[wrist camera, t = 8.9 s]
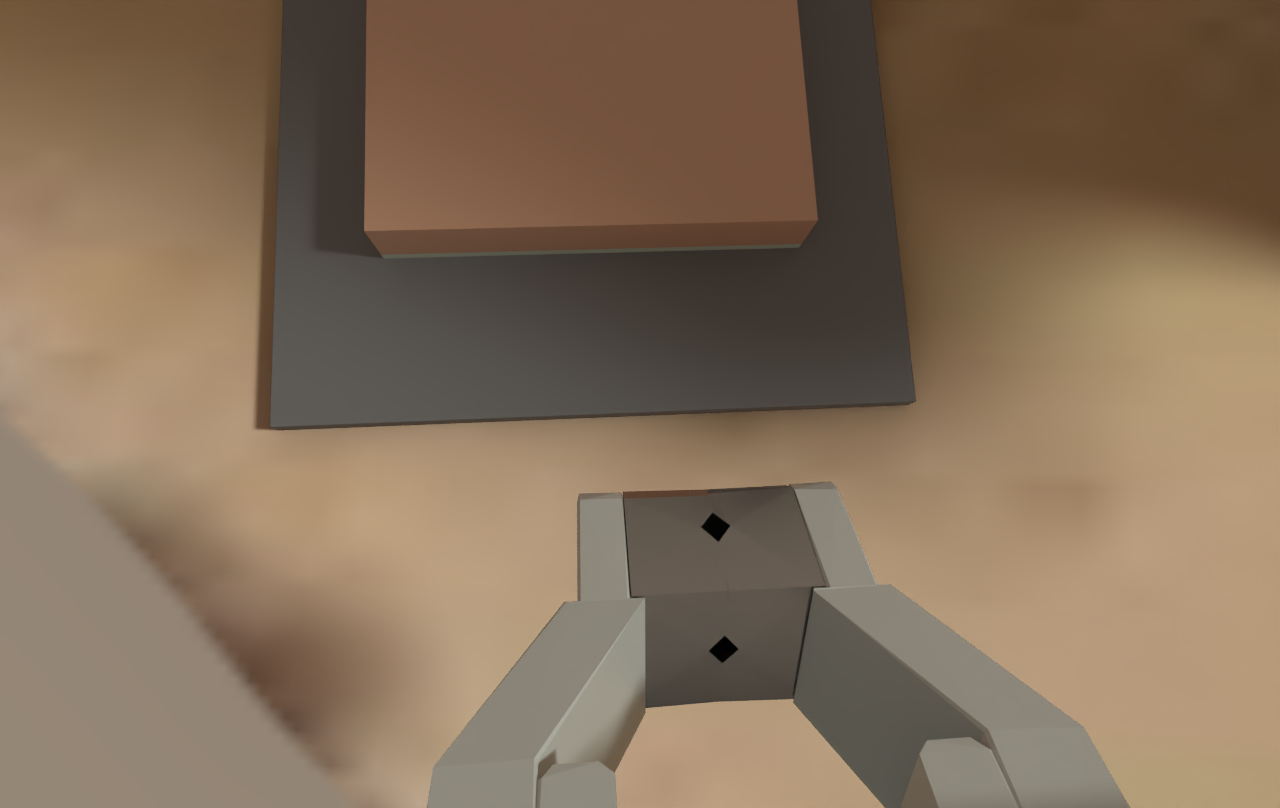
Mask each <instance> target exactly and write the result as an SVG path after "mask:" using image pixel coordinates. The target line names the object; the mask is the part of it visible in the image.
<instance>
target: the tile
mask: <svg viewBox="0 0 1280 808" xmlns="http://www.w3.org/2000/svg"><path fill="white" fill-rule="evenodd" d="M817 221H818V216H817V206H816V195H815V185H814V174H813V164H812V153H811V143H810V132H809V121H808V111H807V100H806V90H805V79H804V69H803V58H802V48H801V37H800V27H799V16H798V6H797V0H367V11H366V108H365V205H364V231H365V233H366V234H367V236H368V237H369V239H370V240H371V241H372V243H373V244H374V246H375V247H376V248H377V250H378V251H379V253H380V254H381V255H382V257H383V258H384V259H387V258H425V257H464V256H502V255H540V254H579V253H617V252H656V251H694V250H733V249H771V248H799V247H800V246H801V244H802V243H803V241H804V240H805V238H806V237H807V235H808V234H809V233H810V231H811V230H812V228H813V227H814V225H815V224H816V222H817Z"/></svg>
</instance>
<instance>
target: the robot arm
mask: <svg viewBox="0 0 1280 808" xmlns="http://www.w3.org/2000/svg"><path fill="white" fill-rule="evenodd" d="M577 579H578V601H573V602H564V603H563V604H562V606H561V607H560V608H559V609H558V611H557V612H556V613H555V615H554V616H553V617H552V618H551V620H550V621H549V622H548V623H547V625H546V626H545V627H544V628H543V630H542V631H541V632H540V633H539V635H538V636H537V637H536V639H535V640H534V641H533V642H532V644H531V645H530V646H529V647H528V649H527V650H526V651H525V652H524V654H523V655H522V656H521V657H520V659H519V660H518V661H517V662H516V664H515V665H514V666H513V668H512V669H511V670H510V671H509V673H508V674H507V675H506V676H505V678H504V679H503V680H502V681H501V683H500V684H499V685H498V686H497V688H496V689H495V690H494V691H493V693H492V694H491V695H490V697H489V698H488V699H487V700H486V702H485V703H484V704H483V705H482V707H481V708H480V709H479V710H478V712H477V713H476V714H475V715H474V717H473V718H472V719H471V720H470V722H469V723H468V724H467V726H466V727H465V728H464V729H463V731H462V732H461V733H460V734H459V736H458V737H457V738H456V739H455V741H454V742H453V743H452V744H451V746H450V747H449V748H448V749H447V751H446V752H445V753H444V755H443V756H442V757H441V758H440V760H439V761H438V762H437V763H436V765H435V766H434V767H433V773H432V779H431V785H430V792H429V798H428V804H427V808H617V798H616V779H615V771H616V769H617V767H618V765H619V763H620V761H621V759H622V757H623V755H624V753H625V751H626V749H627V748H628V746H629V744H630V742H631V740H632V738H633V736H634V734H635V732H636V730H637V728H638V726H639V724H640V722H641V720H642V719H643V717H644V715H645V708H651V707H662V706H674V705H685V704H696V703H707V702H718V701H749V700H778V699H794V701H793V703H794V704H795V705H796V706H797V707H798V709H799V710H800V711H801V712H802V713H803V714H804V715H805V717H806V718H807V719H808V720H809V721H810V722H811V723H812V725H813V726H814V727H815V728H816V729H817V730H818V731H819V733H820V734H821V735H822V736H823V737H824V738H825V739H826V741H827V742H828V743H829V744H830V745H831V746H832V747H833V749H834V750H835V751H836V752H837V753H838V754H839V755H840V757H841V758H842V759H843V760H844V761H845V762H846V763H847V765H848V766H849V767H850V768H851V769H852V770H853V771H854V773H855V774H856V775H857V776H858V777H859V778H860V779H861V781H862V782H863V783H864V784H865V785H866V786H867V787H868V789H869V790H870V791H871V792H872V793H873V794H874V795H875V797H876V798H877V799H878V800H879V801H880V802H881V803H882V805H883V806H884V807H885V808H1130V807H1129V805H1128V803H1127V802H1126V800H1125V798H1124V796H1123V795H1122V793H1121V791H1120V789H1119V788H1118V786H1117V784H1116V782H1115V781H1114V779H1113V777H1112V775H1111V774H1110V772H1109V770H1108V768H1107V767H1106V765H1105V763H1104V761H1103V760H1102V758H1101V756H1100V754H1099V753H1098V751H1097V749H1096V747H1095V746H1094V744H1093V742H1092V741H1091V739H1090V737H1089V735H1088V734H1087V732H1086V730H1085V728H1084V727H1083V726H1082V725H1080V724H1079V723H1077V722H1076V721H1075V720H1073V719H1072V718H1071V717H1069V716H1068V715H1067V714H1065V713H1064V712H1063V711H1061V710H1060V709H1059V708H1057V707H1056V706H1054V705H1053V704H1052V703H1050V702H1049V701H1048V700H1046V699H1045V698H1044V697H1042V696H1041V695H1040V694H1038V693H1037V692H1036V691H1034V690H1033V689H1032V688H1030V687H1029V686H1027V685H1026V684H1025V683H1023V682H1022V681H1021V680H1019V679H1018V678H1017V677H1015V676H1014V675H1013V674H1011V673H1010V672H1009V671H1007V670H1006V669H1004V668H1003V667H1002V666H1000V665H999V664H998V663H996V662H995V661H994V660H992V659H991V658H990V657H988V656H987V655H986V654H984V653H983V652H981V651H980V650H979V649H977V648H976V647H975V646H973V645H972V644H971V643H969V642H968V641H967V640H965V639H964V638H963V637H961V636H960V635H959V634H957V633H956V632H954V631H953V630H952V629H950V628H949V627H948V626H946V625H945V624H944V623H942V622H941V621H940V620H938V619H937V618H936V617H934V616H933V615H931V614H930V613H929V612H927V611H926V610H925V609H923V608H922V607H921V606H919V605H918V604H917V603H915V602H914V601H913V600H911V599H910V598H908V597H907V596H906V595H904V594H903V593H902V592H900V591H899V590H898V589H896V588H895V587H894V586H892V585H891V584H888V585H878V584H877V582H876V580H875V577H874V575H873V572H872V570H871V567H870V565H869V563H868V560H867V558H866V555H865V553H864V551H863V548H862V546H861V543H860V541H859V539H858V536H857V534H856V531H855V529H854V527H853V524H852V522H851V519H850V517H849V515H848V512H847V510H846V507H845V505H844V502H843V500H842V498H841V495H840V493H839V490H838V488H837V487H836V486H835V485H834V484H833V483H832V482H819V483H804V484H790V485H789V486H786V485H783V486H765V487H746V488H728V489H710V490H676V491H635V492H623V497H622V494H621V493H586V494H579V497H578V502H577Z"/></svg>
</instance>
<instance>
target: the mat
mask: <svg viewBox="0 0 1280 808" xmlns="http://www.w3.org/2000/svg"><path fill="white" fill-rule="evenodd" d="M797 6H798V16H799V27H800V37H801V48H802V58H803V69H804V79H805V90H806V100H807V111H808V121H809V132H810V143H811V153H812V164H813V174H814V185H815V195H816V206H817V216H818V221H817V222H816V224H815V225H814V227H813V228H812V230H811V231H810V233H809V234H808V235H807V237H806V238H805V240H804V241H803V243H802V244H801V246H800V247H799V248H771V249H733V250H694V251H656V252H617V253H579V254H540V255H502V256H464V257H425V258H387V259H384V258H383V257H382V255H381V254H380V253H379V251H378V250H377V248H376V247H375V246H374V244H373V243H372V241H371V240H370V239H369V237H368V236H367V234H366V233H365V231H364V205H365V108H366V11H367V0H283V23H282V55H281V88H280V120H279V153H278V185H277V218H276V250H275V283H274V315H273V348H272V380H271V413H270V427H271V428H274V429H277V430H297V429H322V428H347V427H372V426H397V425H421V424H446V423H471V422H496V421H521V420H546V419H571V418H596V417H620V416H645V415H670V414H695V413H720V412H745V411H770V410H795V409H819V408H844V407H869V406H894V405H909V404H911V403H913V402H915V401H916V398H915V389H914V380H913V372H912V363H911V354H910V345H909V336H908V327H907V319H906V310H905V301H904V292H903V283H902V274H901V266H900V257H899V248H898V239H897V230H896V221H895V213H894V204H893V195H892V186H891V177H890V168H889V160H888V151H887V142H886V133H885V124H884V115H883V107H882V98H881V89H880V80H879V71H878V62H877V54H876V45H875V36H874V27H873V18H872V9H871V1H870V0H797Z"/></svg>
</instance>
